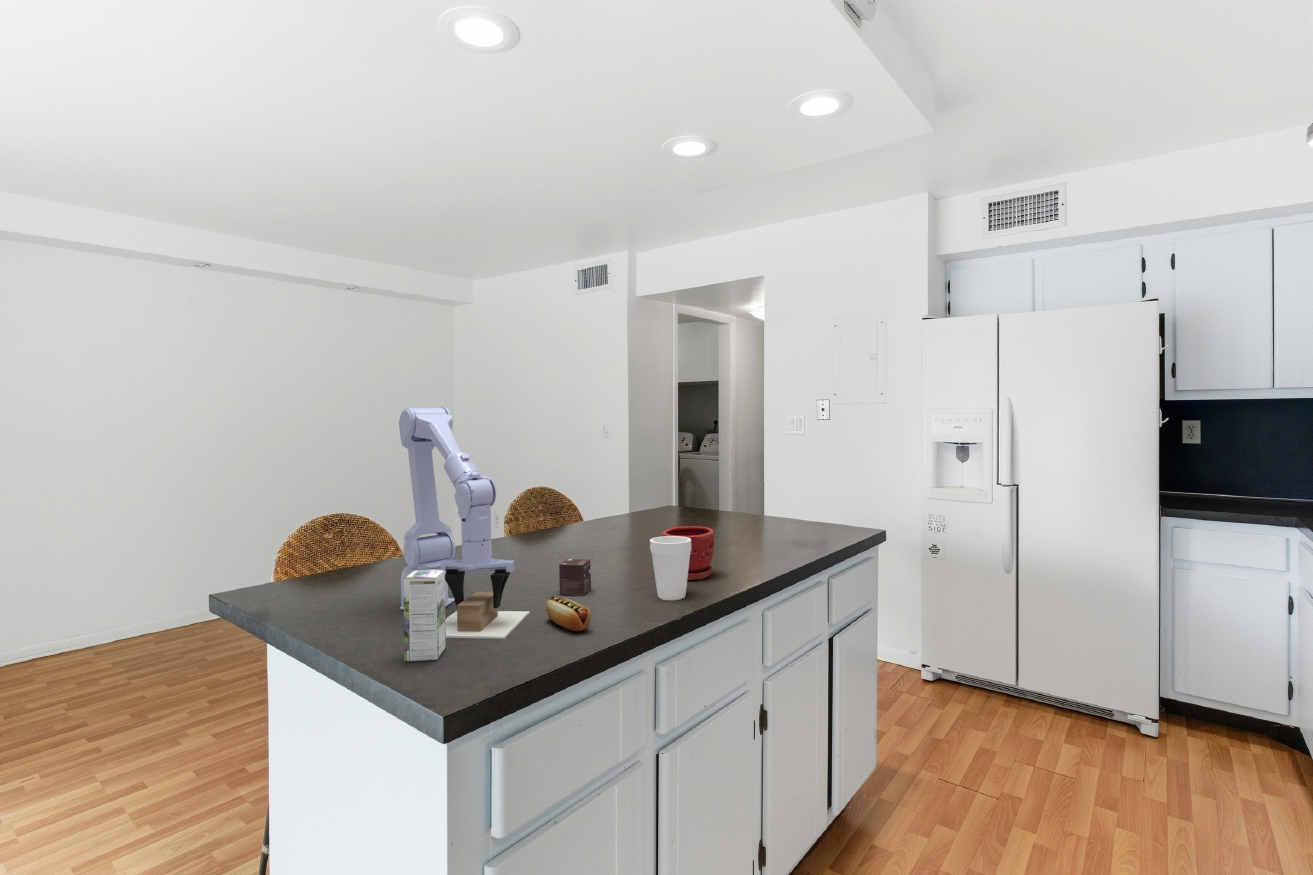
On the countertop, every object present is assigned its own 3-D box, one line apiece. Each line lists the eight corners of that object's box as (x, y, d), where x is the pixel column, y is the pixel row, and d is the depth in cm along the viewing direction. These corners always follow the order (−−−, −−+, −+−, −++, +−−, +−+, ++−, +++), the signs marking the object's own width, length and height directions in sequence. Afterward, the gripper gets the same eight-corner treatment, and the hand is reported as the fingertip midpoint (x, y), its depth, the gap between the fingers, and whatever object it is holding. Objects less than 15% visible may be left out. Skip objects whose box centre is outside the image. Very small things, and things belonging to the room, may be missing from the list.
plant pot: (666, 570, 175) (665, 525, 174) (715, 570, 173) (715, 525, 172) (660, 582, 162) (659, 534, 161) (713, 583, 160) (712, 534, 160)
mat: (422, 637, 123) (422, 635, 123) (456, 612, 139) (456, 610, 139) (504, 638, 122) (504, 636, 122) (529, 613, 138) (529, 611, 138)
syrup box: (413, 650, 117) (411, 569, 116) (447, 648, 117) (445, 568, 117) (403, 662, 111) (401, 577, 111) (439, 660, 111) (437, 576, 111)
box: (583, 596, 150) (583, 564, 150) (559, 595, 152) (558, 564, 151) (591, 589, 156) (591, 559, 156) (567, 588, 158) (567, 558, 157)
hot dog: (571, 637, 122) (571, 611, 122) (540, 621, 133) (540, 596, 133) (595, 632, 125) (594, 606, 125) (562, 616, 136) (562, 592, 135)
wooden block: (476, 615, 135) (476, 591, 135) (497, 615, 135) (497, 591, 135) (457, 631, 125) (456, 605, 125) (480, 631, 125) (479, 605, 125)
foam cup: (669, 604, 142) (668, 545, 142) (642, 596, 149) (641, 540, 149) (700, 596, 148) (699, 539, 148) (673, 588, 155) (672, 534, 155)
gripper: (432, 543, 127) (434, 612, 127) (505, 543, 125) (507, 613, 126) (448, 536, 134) (450, 602, 134) (516, 536, 132) (518, 602, 133)
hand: (478, 606), depth 131 cm, fingers open, 7 cm apart
